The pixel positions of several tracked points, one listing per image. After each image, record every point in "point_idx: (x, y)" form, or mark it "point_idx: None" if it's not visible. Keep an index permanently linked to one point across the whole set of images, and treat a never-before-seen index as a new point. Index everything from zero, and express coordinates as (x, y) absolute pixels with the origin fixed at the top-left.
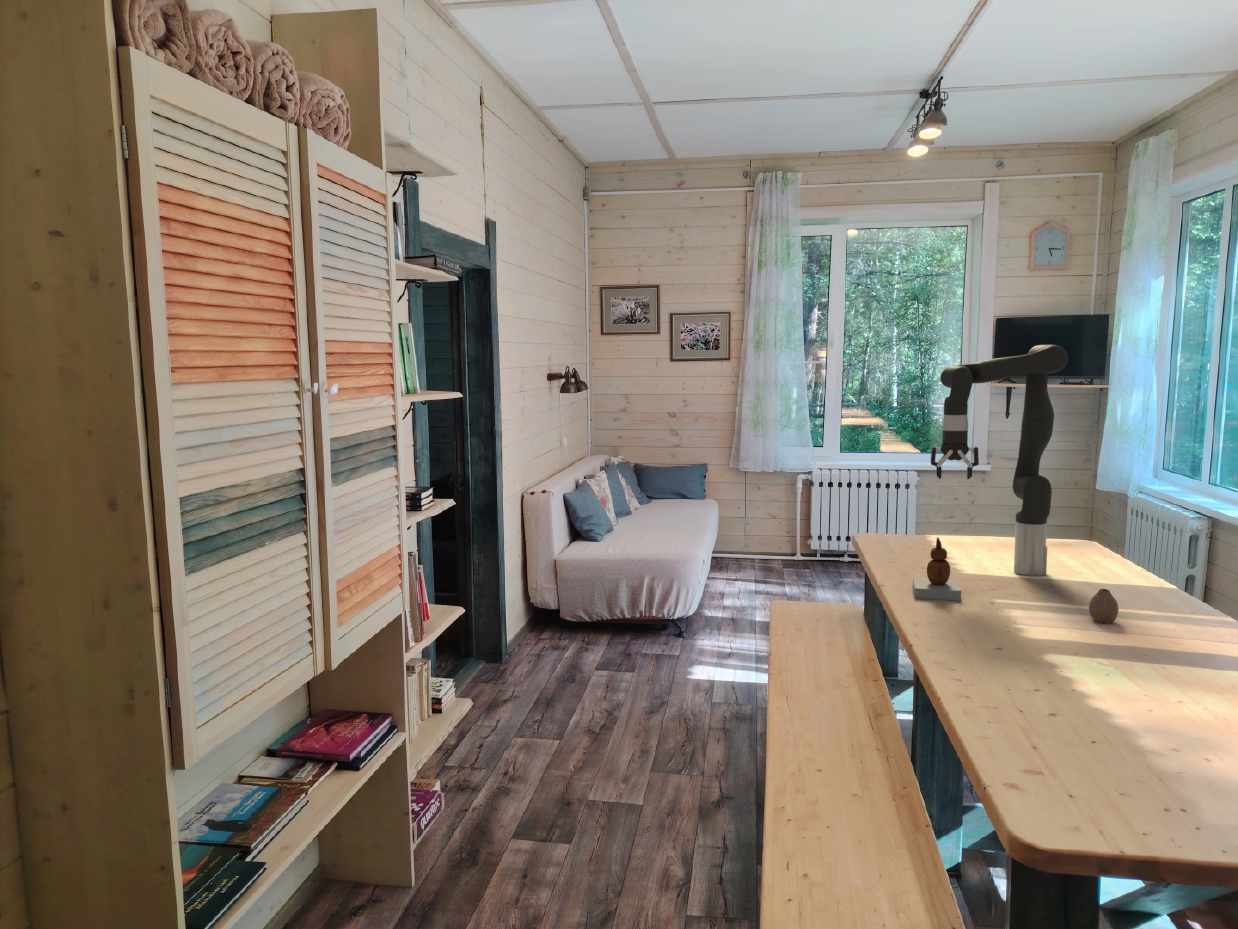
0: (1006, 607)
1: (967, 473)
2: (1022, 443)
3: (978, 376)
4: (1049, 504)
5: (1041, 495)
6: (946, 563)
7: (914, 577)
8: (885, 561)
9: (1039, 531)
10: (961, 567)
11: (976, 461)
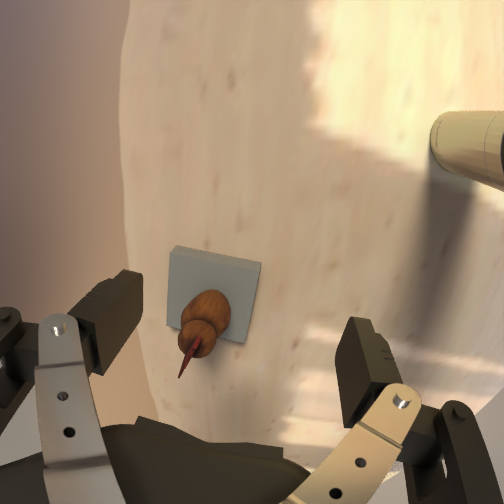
0: (309, 362)
1: (344, 374)
2: None
3: None
4: None
5: None
6: (216, 337)
7: (172, 255)
8: (154, 32)
9: None
10: (327, 76)
11: (421, 478)
